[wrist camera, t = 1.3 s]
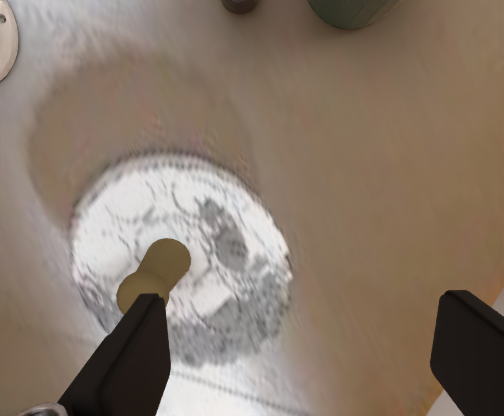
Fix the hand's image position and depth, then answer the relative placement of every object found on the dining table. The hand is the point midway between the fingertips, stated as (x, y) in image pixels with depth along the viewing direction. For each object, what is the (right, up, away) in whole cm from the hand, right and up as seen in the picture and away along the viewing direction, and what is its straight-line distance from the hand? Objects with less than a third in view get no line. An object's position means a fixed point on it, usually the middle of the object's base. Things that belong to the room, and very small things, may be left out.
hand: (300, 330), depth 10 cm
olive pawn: (-13, -3, +30) cm, 33 cm away
